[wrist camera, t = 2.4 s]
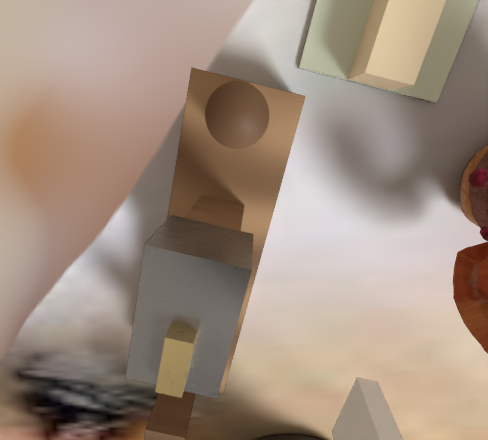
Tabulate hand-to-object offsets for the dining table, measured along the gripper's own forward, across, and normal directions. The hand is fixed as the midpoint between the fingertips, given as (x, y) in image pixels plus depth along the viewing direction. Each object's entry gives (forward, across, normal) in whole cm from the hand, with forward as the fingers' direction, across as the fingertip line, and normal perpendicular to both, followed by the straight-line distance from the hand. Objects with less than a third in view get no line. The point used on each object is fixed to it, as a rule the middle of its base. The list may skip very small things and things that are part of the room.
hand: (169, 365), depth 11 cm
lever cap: (+7, 0, 0) cm, 7 cm away
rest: (+16, -8, -18) cm, 25 cm away
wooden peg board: (+16, 0, +2) cm, 16 cm away
